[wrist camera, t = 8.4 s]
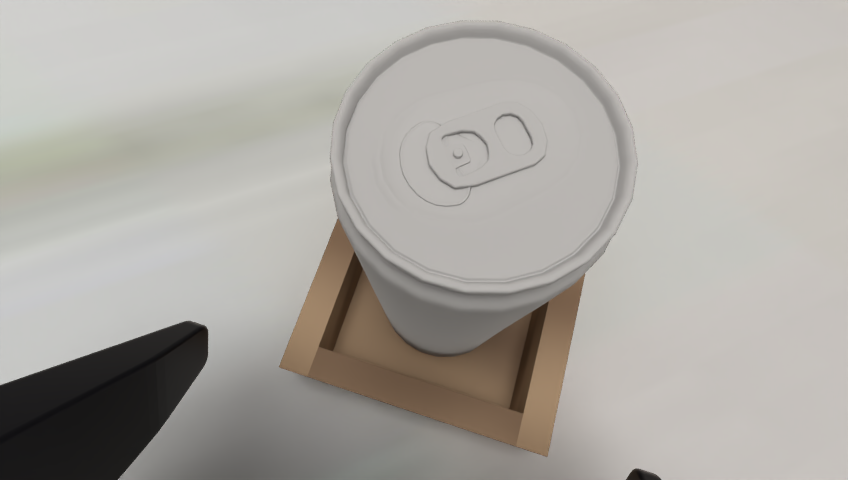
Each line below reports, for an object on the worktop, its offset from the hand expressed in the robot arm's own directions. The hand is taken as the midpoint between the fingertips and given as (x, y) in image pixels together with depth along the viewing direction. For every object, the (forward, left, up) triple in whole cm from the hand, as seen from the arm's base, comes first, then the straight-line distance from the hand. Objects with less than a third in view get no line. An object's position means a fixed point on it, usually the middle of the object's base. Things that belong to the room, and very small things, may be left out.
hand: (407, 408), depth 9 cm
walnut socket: (+3, +2, -9) cm, 9 cm away
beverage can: (+3, +2, -8) cm, 9 cm away
